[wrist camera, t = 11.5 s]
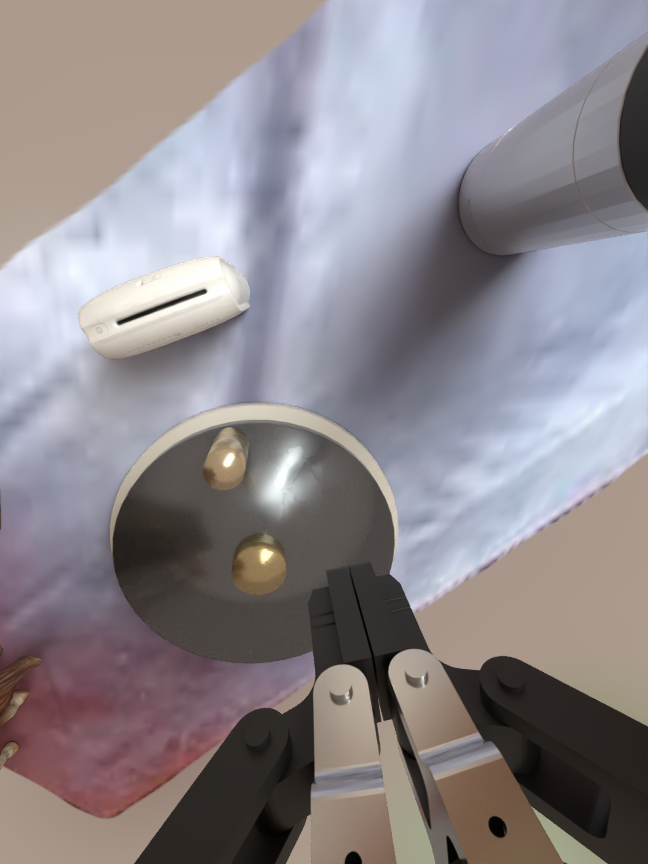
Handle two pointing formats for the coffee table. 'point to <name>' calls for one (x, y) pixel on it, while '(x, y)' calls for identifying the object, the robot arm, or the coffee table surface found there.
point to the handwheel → (246, 537)
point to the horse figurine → (3, 686)
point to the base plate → (255, 413)
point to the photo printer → (164, 307)
